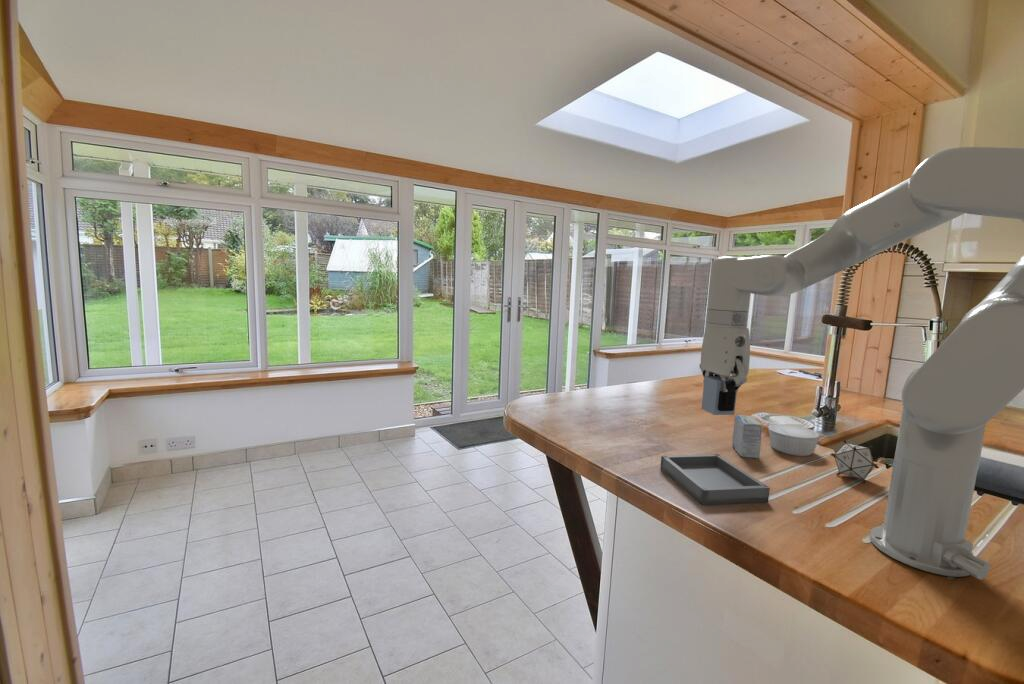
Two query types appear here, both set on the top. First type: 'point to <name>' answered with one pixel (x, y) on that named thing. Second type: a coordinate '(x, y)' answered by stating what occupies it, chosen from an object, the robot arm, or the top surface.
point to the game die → (854, 460)
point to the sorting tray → (714, 479)
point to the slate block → (713, 395)
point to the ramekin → (793, 439)
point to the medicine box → (747, 436)
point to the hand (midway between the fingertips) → (718, 406)
